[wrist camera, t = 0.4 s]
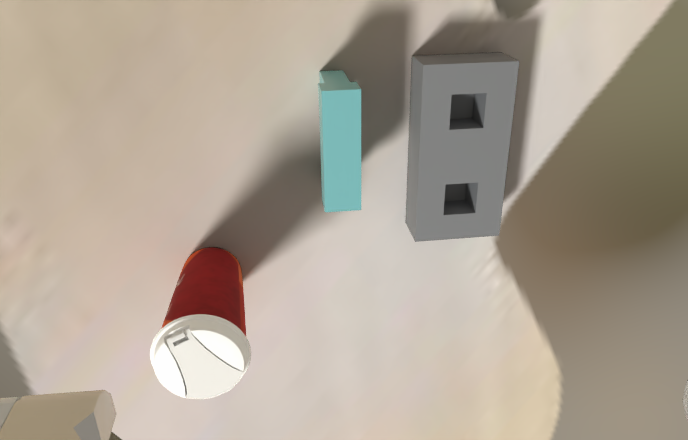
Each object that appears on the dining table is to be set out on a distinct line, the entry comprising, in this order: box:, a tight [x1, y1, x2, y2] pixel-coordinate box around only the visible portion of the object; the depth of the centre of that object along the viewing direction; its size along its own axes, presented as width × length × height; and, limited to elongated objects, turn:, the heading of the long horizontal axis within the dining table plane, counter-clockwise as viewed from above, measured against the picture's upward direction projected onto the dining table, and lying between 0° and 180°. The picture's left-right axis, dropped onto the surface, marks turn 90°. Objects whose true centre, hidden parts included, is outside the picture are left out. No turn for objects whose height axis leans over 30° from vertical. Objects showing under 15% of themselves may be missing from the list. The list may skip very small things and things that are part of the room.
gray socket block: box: [406, 52, 519, 242], centre depth 53 cm, size 16×8×4 cm, turn 1°
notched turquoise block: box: [318, 70, 361, 212], centre depth 49 cm, size 10×3×7 cm, turn 1°
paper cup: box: [150, 247, 251, 399], centre depth 51 cm, size 8×8×14 cm
